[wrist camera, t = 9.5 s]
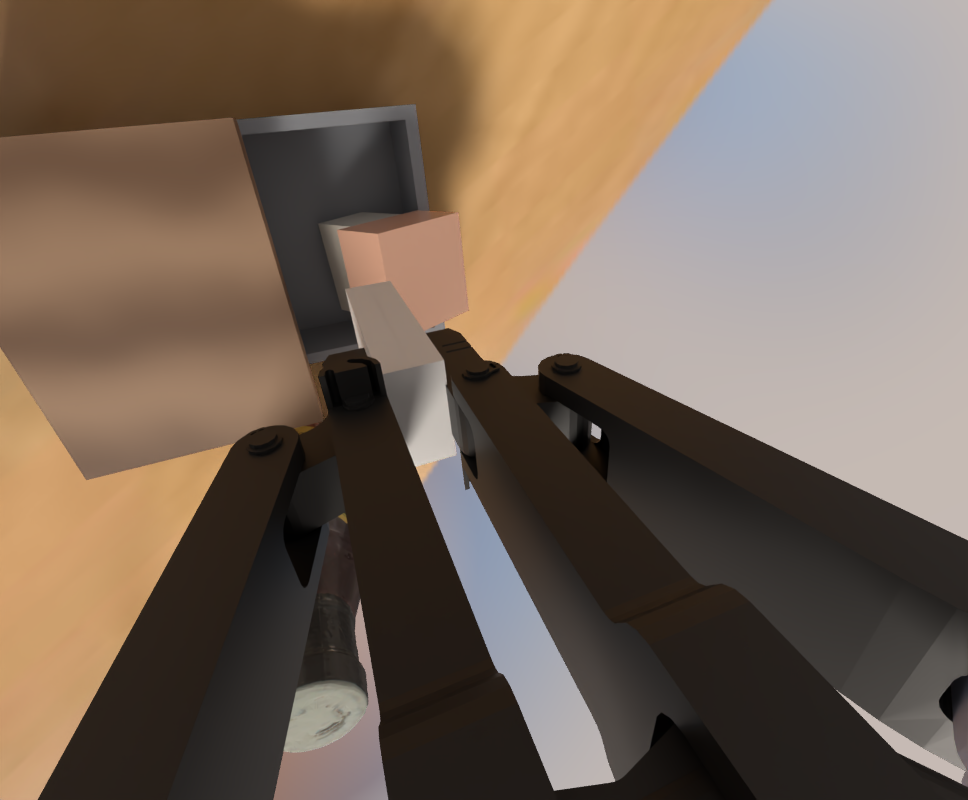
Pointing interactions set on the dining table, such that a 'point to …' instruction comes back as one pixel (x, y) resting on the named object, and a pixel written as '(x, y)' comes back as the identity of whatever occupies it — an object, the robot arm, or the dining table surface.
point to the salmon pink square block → (411, 261)
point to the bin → (330, 198)
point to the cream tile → (334, 248)
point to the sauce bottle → (330, 651)
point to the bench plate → (146, 293)
